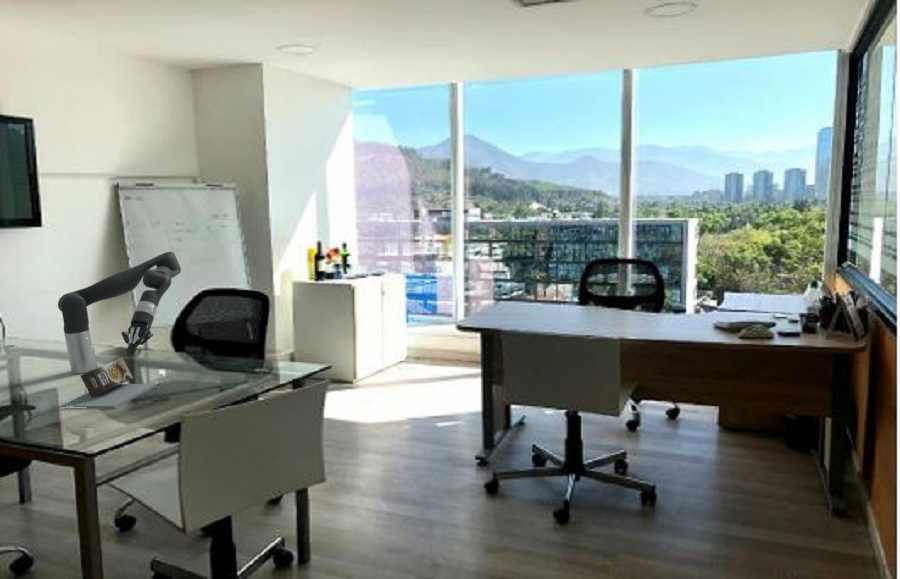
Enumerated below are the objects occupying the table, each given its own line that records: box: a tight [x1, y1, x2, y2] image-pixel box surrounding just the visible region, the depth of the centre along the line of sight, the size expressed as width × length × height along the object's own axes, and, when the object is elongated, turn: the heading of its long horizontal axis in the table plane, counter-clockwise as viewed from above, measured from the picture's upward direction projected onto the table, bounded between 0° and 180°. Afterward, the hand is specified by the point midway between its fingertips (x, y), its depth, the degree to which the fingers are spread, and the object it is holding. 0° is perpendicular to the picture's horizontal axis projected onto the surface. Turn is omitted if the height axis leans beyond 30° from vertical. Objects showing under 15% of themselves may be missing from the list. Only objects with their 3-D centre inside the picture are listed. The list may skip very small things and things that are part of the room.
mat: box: [59, 383, 158, 410], centre depth 250 cm, size 24×22×1 cm
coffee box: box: [80, 357, 133, 397], centre depth 254 cm, size 9×6×16 cm
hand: (129, 353), depth 261 cm, fingers closed
